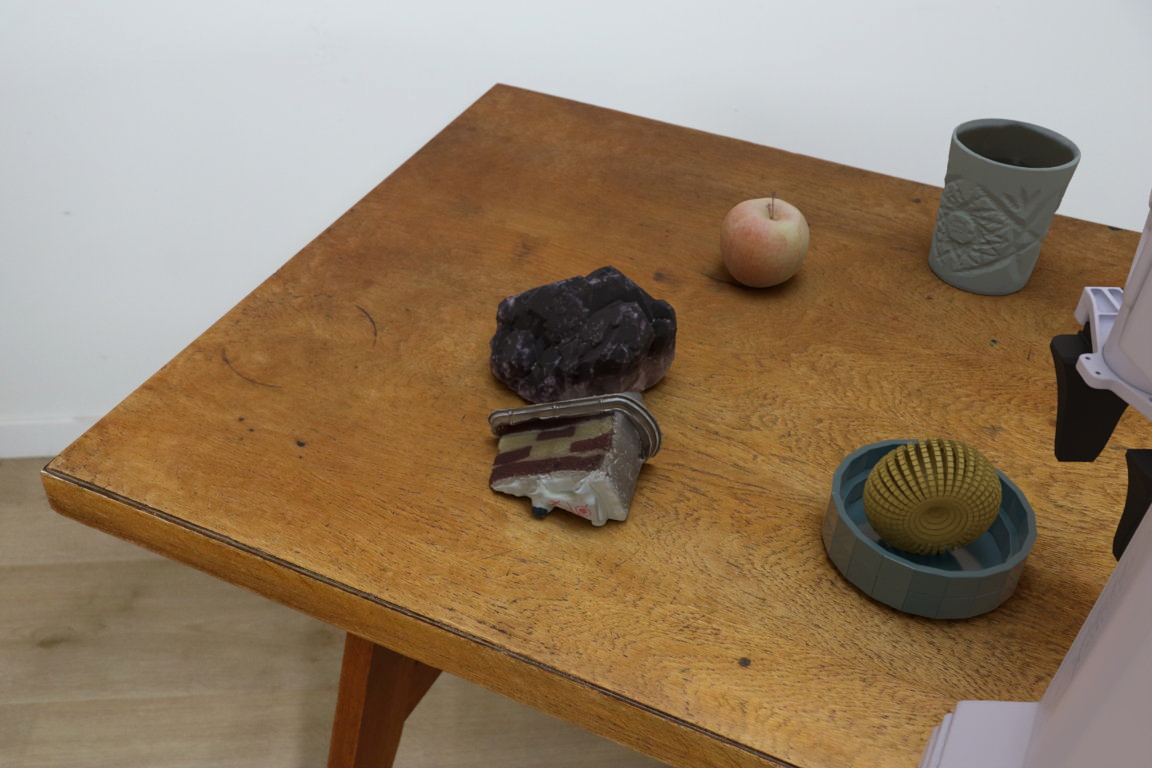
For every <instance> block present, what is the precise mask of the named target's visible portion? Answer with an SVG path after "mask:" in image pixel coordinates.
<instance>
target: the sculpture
mask: <svg viewBox="0 0 1152 768" xmlns="http://www.w3.org/2000/svg"><path fill="white" fill-rule="evenodd" d="M924 441H926V443H925V442H924ZM925 444H926V445H925ZM917 445H918V451H917V449H916V447H915V445H914V443H913V442H909V443H907V447H908V448H907V447H906V446H904V445H901V446H899V447H898V448H897V450H893V451H890V452H889V454H888V455H885V456H884V457H883V458H882V459H880V461H879V462H878V463H877V464H876V465H875V467H873V469H872V471H871V472H870V474H869V476H868V479H867V481H866V482H865V483H866V484H865V487H864V493H863V508H864V511H865V513H866V514H865V515H866V517H867V519H868V522H869V523H870V525H871V527H872V528H873V530H874V531H875V533H877V534H878V535H879V537H881V538H882V539H883V540H884V541H886V542H887V543H888V544H890V545H892V546H894V547H895V548H898V549H901V550H902V551H908V552H909V553H915V554H916V553H918V554H922V555H926V554H929V555H935V554H936V552H937V551H939V553H940V554H944V553H945V544H946V546H947V549H948V550H949V552H952V551H955V547H956V548H958V549H961V548H963V547H965V545H969V544H971V543H973V542H974V540H977V539H979V538H980V537H981V536H982V534H984V533H985V532H986V531H987V530H988V529H989V527H990V526H991V525H992V524H993V522H994V521H995V519H996V516H997V515H998V513H999V509H1000V505H1001V501H1002V487H1001V484H1000V480H999V476H998V474H997V472H996V470H995V469H994V467H995V466H994V465H993V464H992V462H990V460H989V459H988V458H987V456H985V454H983V453H982V452H980V451H979V450H978V449H976V448H975V447H973V446H970V445H968V444H966V443H964V442H962V441H958V440H955V439H950V438H949V439H946V438H942V437H938V438H934V437H929V438H926V440H925V439H923V438H921V439H918V440H917ZM918 452H919V453H918ZM919 455H920V456H919ZM993 466H994V467H993ZM944 542H945V544H944ZM954 545H955V547H954ZM937 549H938V550H937Z"/></svg>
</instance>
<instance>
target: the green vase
mask: <svg viewBox="0 0 1152 768" xmlns="http://www.w3.org/2000/svg"><path fill="white" fill-rule="evenodd" d="M947 157H948V159H947V166H946V173H945V176H944V187H943V189H942V192H941V194H940V196H939V197H940V198H939V203H938V204H939V208H938V209H937V213H936V223H935V226H934V228H933V232H932V238H931V243H930V249H929V253H928V265H929V268H930V269H931V271H932V272H933V273H934V274H935V275H936V276H937V277H938V278H939V279H940V280H941V281H943V282H944V283H946V284H948V285H950V286H951V287H954V288H957V289H959V290H962V291H965V292H968V293H973V294H977V295H984V296H1005V295H1010V294H1014V293H1017V292H1018V291H1020V290H1022V289H1023V288H1024V287H1025V286H1026V285H1027V283H1028V282H1029V280H1030V278H1031V275H1032V273H1033V271H1034V269H1035V266H1036V264H1037V261H1038V259H1039V256H1040V255H1041V246H1042V243H1043V242H1044V240H1045V238H1046V237H1047V235H1048V233H1049V228H1050V226H1051V224H1052V222H1053V219H1054V216H1055V214H1056V213H1057V211H1058V210H1059V208H1060V206H1061V203H1062V201H1063V198H1064V196H1065V194H1066V191H1067V189H1068V187H1069V185H1070V182H1071V180H1072V178H1073V176H1074V174H1075V172H1076V171H1077V168H1078V165H1079V164H1080V162H1081V158H1082V151H1081V149H1080V148H1079V146H1078V145H1077V144H1076V143H1075V142H1074V141H1073V140H1071V139H1069V138H1068V137H1067V136H1065V135H1063V134H1061V133H1059V132H1057V131H1055V130H1052V129H1050V128H1047V127H1045V126H1042V125H1038V124H1035V123H1031V122H1026V121H1021V120H1018V119H1017V120H1016V119H1011V118H1000V117H996V118H995V117H985V118H978V119H977V118H976V119H971V120H968V121H964V122H962V123H960V124H958V125H956V126H955V127H954V128H953V130H952V134H951V137H950V144H949V150H948V155H947Z"/></svg>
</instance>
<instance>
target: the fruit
mask: <svg viewBox="0 0 1152 768" xmlns="http://www.w3.org/2000/svg"><path fill="white" fill-rule="evenodd" d="M770 193H771V197H763V198H753V199H747V200H744V201H742V202H739V203H738V204H736V205H735V206H734V207H733V208H732V209H730V210H729V212H728V213H727V215H726V216H725V218H724V220H723V222H722V224H721V227H720V232H719V251H720V256H721V259H722V260H723V261H722V262H723V264H724V266H725V267H726V269H727V271H728V272H729V274H730V275H731V277H733V278H734V279H735V280H736V281H737V282H739V283H740V284H742V285H744V286H747V287H751V288H769V287H773V286H777V285H780V284H783V283H784V282H786V281H788V280H789V279H790V278H791V277H793V276H794V275H795V274H796V273H797V272H798V270H799V269H800V268H801V266H802V265H803V263H804V261H805V259H806V257H807V255H808V251H809V246H810V239H811V237H810V235H811V234H810V227H809V225H808V222H807V220H806V218H805V216H804V214H803V213H802V212H801V211H800V210H799V209H798V208H797V207H796V206H794V205H793V204H791V203H789V202H787V201H785V200H783V199H780V198H775V197H776V193H777V191H776V190H772V191H770Z"/></svg>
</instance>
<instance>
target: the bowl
mask: <svg viewBox="0 0 1152 768" xmlns="http://www.w3.org/2000/svg"><path fill="white" fill-rule="evenodd" d="M917 440H919V439H916V438H911V439H909V438H903V439H901V438H898V439H897V438H895V439H894V438H893V439H891V438H890V439H884V440H881V441H877V442H873V443H869V444H865V445H863V446H861V447H859V448H858V449H856V450H854V451H853V452H851V453H849V454H848V455H846V456H845V457H843V459H842V460H841V462H840V463H839V465H838V467H837V468H836V469H835V471H834V472H833V475H832V478H831V482H830V487H829V491H828V493H827V494H828V495H827V498H826V503H825V507H824V511H823V516H822V524H821V537H822V540H823V543H824V546H825V549H826V552H827V555H828V558H830V560H831V561H832V563H833V564H834V565H835V567H836V568H837V570H839V572H840V573H841V574H842V576H843V577H844V578H846V579H847V581H849V582H850V583H851V584H853V585H854V586H856V587H857V588H858V589H859V590H860V591H862V592H863V593H864V594H866V595H867V596H868V597H870V598H871V599H874V600H876V601H878V602H881V603H883V604H884V605H887V606H889V607H891V608H893V609H896V610H897V611H900V612H903V613H908V614H912V615H916V616H921V617H925V618H930V619H936V620H947V619H951V620H953V619H955V620H956V619H969V618H973V617H976V616H980V615H982V614H985V613H989V612H992V611H994V610H995V609H997V608H998V607H999V606H1001V605H1002V604H1003V603H1004V602H1006V601H1007V600H1008V599H1010V597H1012V596H1013V595H1014V593H1015V590H1016V588H1017V585H1018V583H1019V581H1020V578H1021V576H1022V574H1023V571H1024V569H1025V567H1026V564H1027V562H1028V560H1029V557H1030V555H1031V552H1032V549H1033V548H1034V545H1035V542H1036V540H1037V537H1038V529H1037V527H1038V526H1037V518H1036V512H1035V511H1034V509H1033V507H1032V506H1031V504H1030V502H1029V500H1028V498H1027V495H1025V493H1024V492H1023V490H1022V489H1021V488H1019V486H1018V485H1017V484H1016V483H1014V481H1013V480H1012V479H1010V478H1009V476H1007V474H1005V473H1004V472H1003V471H1001V470H1000V469H999V468H997V467H995V466H994V465H993V467H994V469H995V470H996V472H997V474H998V476H999V480H1000V484H1001V487H1002V501H1001V505H1000V509H999V513H998V515H997V516H996V519H995V521H994V522H993V524H992V525H991V526H990V527H989V529H988V530H987V531H986V532H985V533H984V534H982V536H981V537H980V538H979V539H977V540H974V542H973V543H971V544H969V545H965V547H963V548H961V549H958V548H956V547H955V545H954V547H955V551H952V552H949V550H948V549H947V546H946V544H945V542H944V544H945V553H944V554H940V553H939V551H937V552H936V554H935V555H929V554H926V555H922V554H918V553H916V554H915V553H909V552H908V551H902V550H901V549H898V548H895V547H894V546H892V545H890V544H888V543H887V542H886V541H884V540H883V539H882V538H881V537H879V535H878V534H877V533H875V531H874V530H873V528H872V527H871V525H870V523H869V522H868V519H867V517H866V515H865V514H866V513H865V511H864V508H863V493H864V487H865V484H866V483H865V482H866V481H867V479H868V476H869V474H870V472H871V471H872V469H873V467H875V465H876V464H877V463H878V462H879V461H880V459H882V458H883V457H884V456H885V455H888V454H889V452H890V451H893V450H897V448H898V447H899V446H901V445H904V446H906V447H907V443H909V442H913V443H914V445H915V447H916V449H917V451H918V445H917ZM924 442H925V443H926V440H924ZM925 445H926V444H925ZM907 448H908V447H907ZM918 453H919V452H918ZM919 456H920V455H919ZM937 550H938V549H937Z"/></svg>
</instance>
